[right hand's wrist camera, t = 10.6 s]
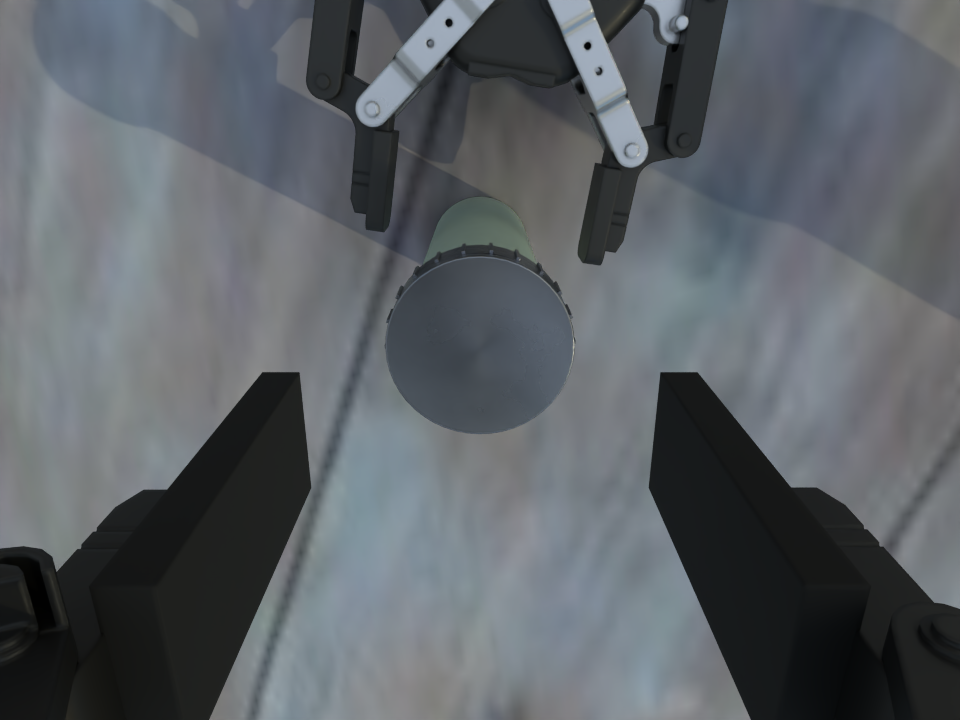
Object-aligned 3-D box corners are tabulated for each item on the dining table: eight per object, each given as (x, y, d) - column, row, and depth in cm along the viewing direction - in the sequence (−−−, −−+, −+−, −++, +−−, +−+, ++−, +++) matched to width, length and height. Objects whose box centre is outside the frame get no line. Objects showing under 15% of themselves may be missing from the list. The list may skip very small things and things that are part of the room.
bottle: (419, 268, 34) (377, 383, 20) (454, 181, 32) (435, 239, 18) (503, 303, 34) (519, 438, 20) (541, 219, 33) (587, 303, 19)
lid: (365, 376, 21) (356, 397, 19) (429, 211, 19) (425, 221, 18) (524, 437, 22) (527, 462, 20) (600, 284, 20) (610, 299, 18)
